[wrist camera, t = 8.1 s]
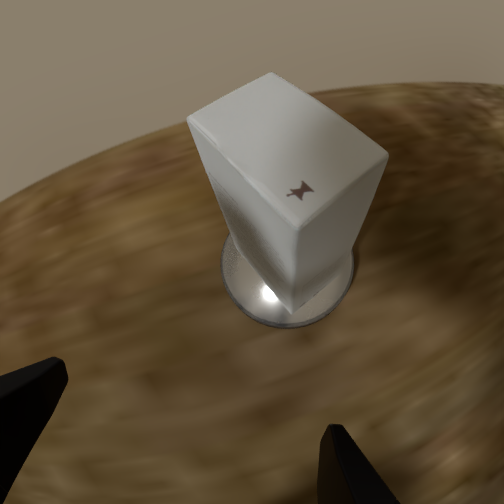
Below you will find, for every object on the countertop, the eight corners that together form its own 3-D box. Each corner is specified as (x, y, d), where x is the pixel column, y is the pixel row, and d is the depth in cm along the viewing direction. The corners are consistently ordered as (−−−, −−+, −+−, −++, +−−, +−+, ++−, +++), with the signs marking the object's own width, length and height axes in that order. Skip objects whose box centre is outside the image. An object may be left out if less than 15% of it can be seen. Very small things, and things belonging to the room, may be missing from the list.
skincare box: (341, 274, 20) (397, 155, 8) (291, 316, 19) (295, 236, 8) (282, 210, 22) (272, 66, 11) (233, 247, 21) (179, 117, 10)
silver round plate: (371, 241, 21) (375, 234, 20) (312, 353, 19) (313, 352, 18) (265, 189, 24) (263, 180, 23) (198, 286, 22) (194, 281, 20)
